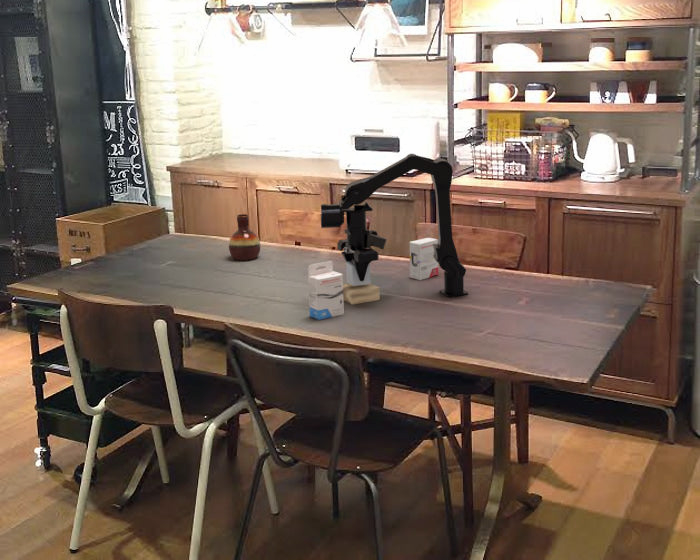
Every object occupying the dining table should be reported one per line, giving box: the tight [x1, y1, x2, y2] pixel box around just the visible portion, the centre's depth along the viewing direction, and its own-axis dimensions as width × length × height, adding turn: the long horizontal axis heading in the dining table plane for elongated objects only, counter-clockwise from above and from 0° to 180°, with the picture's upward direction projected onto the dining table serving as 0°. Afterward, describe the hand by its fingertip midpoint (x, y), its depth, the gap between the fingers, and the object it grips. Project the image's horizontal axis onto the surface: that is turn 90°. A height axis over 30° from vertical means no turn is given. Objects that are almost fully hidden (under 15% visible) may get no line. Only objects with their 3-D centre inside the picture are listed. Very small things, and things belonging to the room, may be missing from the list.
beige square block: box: [343, 282, 381, 306], centre depth 258 cm, size 9×9×4 cm
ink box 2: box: [409, 237, 439, 281], centre depth 277 cm, size 9×5×12 cm, turn 129°
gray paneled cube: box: [345, 261, 372, 286], centre depth 256 cm, size 6×6×6 cm
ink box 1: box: [307, 260, 345, 321], centre depth 242 cm, size 8×5×15 cm, turn 125°
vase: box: [228, 214, 261, 261], centre depth 309 cm, size 11×11×15 cm
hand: (358, 278), depth 257 cm, fingers closed on gray paneled cube, 5 cm apart
